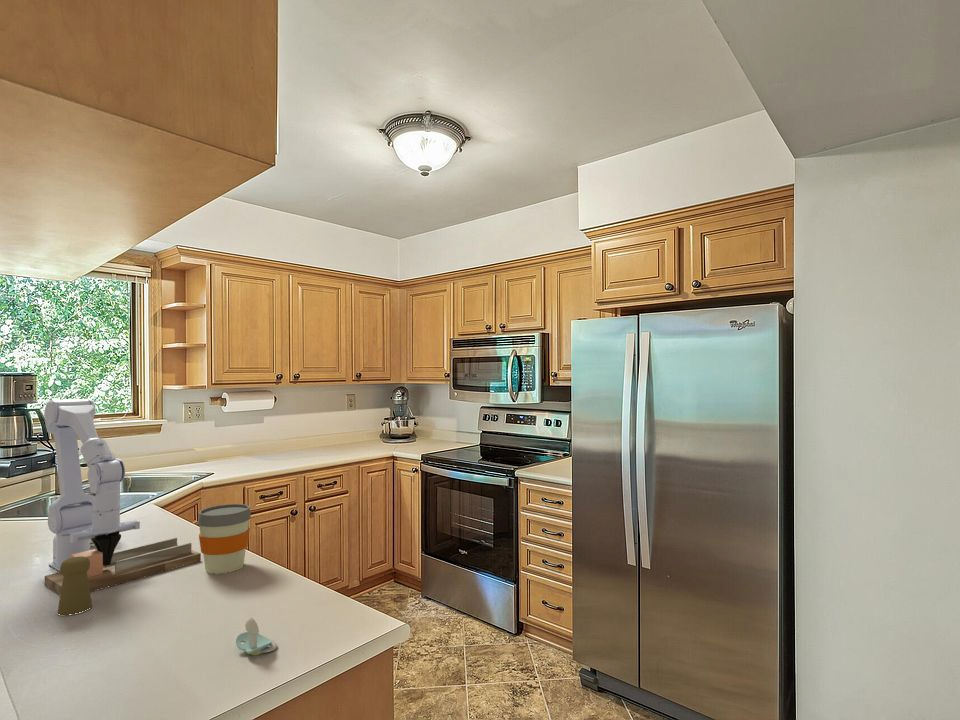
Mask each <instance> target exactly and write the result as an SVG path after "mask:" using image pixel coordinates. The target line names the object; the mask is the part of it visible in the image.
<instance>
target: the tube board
mask: <svg viewBox="0 0 960 720" xmlns="http://www.w3.org/2000/svg"><path fill="white" fill-rule="evenodd" d="M201 554H202V552H198V551H196V550H192V542H188V543H187V542H186V543H182V544H178V537H172V538H168V539H164V540H159V541H155V542H152V543H148V544H144V545H139V546H135V547H131V548H130V547H129V548H126V549H122V550H119V551H118V550H117V551H114V553H113V556H112V559H111V564H110V565H107V566H104V565H103V574H99V575H95V576H92V577H88V582H89V588H90V591H93V592H95V591H94V590H96V591H98V590H97V589H100V590H102V589H101V588H103V589H106V588H105V587H107V588H109V587H108V586H110V587H113V586H112V585H114V586H116V585H115V584H117V585H120V584H119V583H121V584H123V583H122V582H124V583H127V582H126V581H128V582H131V581H134V580H133V579H135V580H138V579H142V578H145V577H144V576H146V577H149V576H152V574H153V575H156V574H160V573H162V571H163V572H167V571H169V569H170V570H173V569H172V568H174V569H177V568H180V566H181V567H184V566H187V564H188V565H191V564H194V562H195V563H197V561H198V562H201V561H200V560H202V557H201V556H202V555H201ZM190 563H191V564H190ZM183 565H184V566H183ZM176 567H177V568H176ZM166 570H167V571H166ZM159 572H160V573H159ZM155 573H156V574H155ZM148 575H149V576H148ZM141 577H142V578H141ZM137 578H138V579H137ZM130 580H131V581H130ZM62 582H63V575H62V574H61V572H60V571H58V572H56V573H51V574H47V575H44V585H45V584H46V585H47V587H48V586H49V587H50V588H49V587H48V588H49V589H51V588H52V589H53V590H52V589H51V590H52V591H54V592H55V593H57V592H58V593H57V594H59V595H60V594H61V588H62ZM46 585H45V586H46Z"/></svg>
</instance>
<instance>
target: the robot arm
mask: <svg viewBox="0 0 960 720" xmlns="http://www.w3.org/2000/svg"><path fill="white" fill-rule="evenodd" d="M43 415H44V423H45V428H46V432H47V433H49V434H52V435H53V438H54V446H55V447H54V448H55V454H56V464H57V473H58V485H59V493H60V496H58V497H57V498H56V499H55V500H54V501H53V502H51V503H50V505H49V506H48V516H47V526H48V529H49V530H50V532H51V533H52V534H55V536H54V537H53V539H52V561H50V562H48V565H49V566H51V567H52V568H54V569H55V570H57V571H58V572H60V567H61V564H62V562H64V561H65V560H67V559H69V558H71V555H72V554H76V553H80V552H85V551H89V550H91V546H90V539H91V540H92V542H93V543H94V545H95V546H94V547H95V548H96V550H98V551H100V552H102V553H103V565H104V566H107V565H110V564H111V559H112V556H113V553H114V552H115V550H116V548H117V546H118V544H119V542H120V541H121V538H122V534H121V533H123V532H127V531H132V530H140V529H141V528H140V527H141V526H140V525H141V524H140V522H141V521H139V520H138V519H135V520H129V521H123V522H121V482H124V481H123V480H124V479H125V478H126V477H125V476H126V468H125V464H124V461H123V460H122V459H120V458H118V456H114V454H113V452H112V450H111V449H110V446H109V444H108V443H107V440H106V439H103V438H99V434H98V432H97V429H96V426H95V424H94V419H95V415H96V404H95V402H94V401H93V400H92V399H91V398H83V399H82V398H81V399H79V398H78V399H77V398H76V399H74V398H73V399H50V400H49V401H48V402H46V405H45V408H44V414H43ZM78 439H79V440H80V442H81V444H82V445H81V447H80V453H81V455H82V457H83V460H84V461H85V463H86V465H87V468H88V469H87V481H88V483H89V491H90V493H92V496H91V495H88V493H86V492H84V487H83V479H82V478H83V477H82V469H81V460H80V453H79V444H78V443H79V442H78ZM74 504H82V505H77V506H74Z"/></svg>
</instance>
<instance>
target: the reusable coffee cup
mask: <svg viewBox="0 0 960 720" xmlns="http://www.w3.org/2000/svg"><path fill="white" fill-rule="evenodd" d="M251 515H252V514H251V507H250V505H249V504H243V503H230V504H221V505H214V506H208V507H206V508H203V509H200V510H199V512H198V518H197V524H198V526H199V533H198V539H199V540H198V541H199V547H200V553H201V554H203V563H204V568H205V572H206V573H207V572H208V573H207V574H210V573H215V574H214V575H220V574H219V573H223V574H228V573H227V572H229V573H232V572H231V571H233V572H235V570H236V571H238V570H240V569H242V568H243V567H244V566H243V565H245V557H246V550H247V547H248V545H249V537H250V531H251V527H249V526H250V519H251V518H252V516H251Z"/></svg>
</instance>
